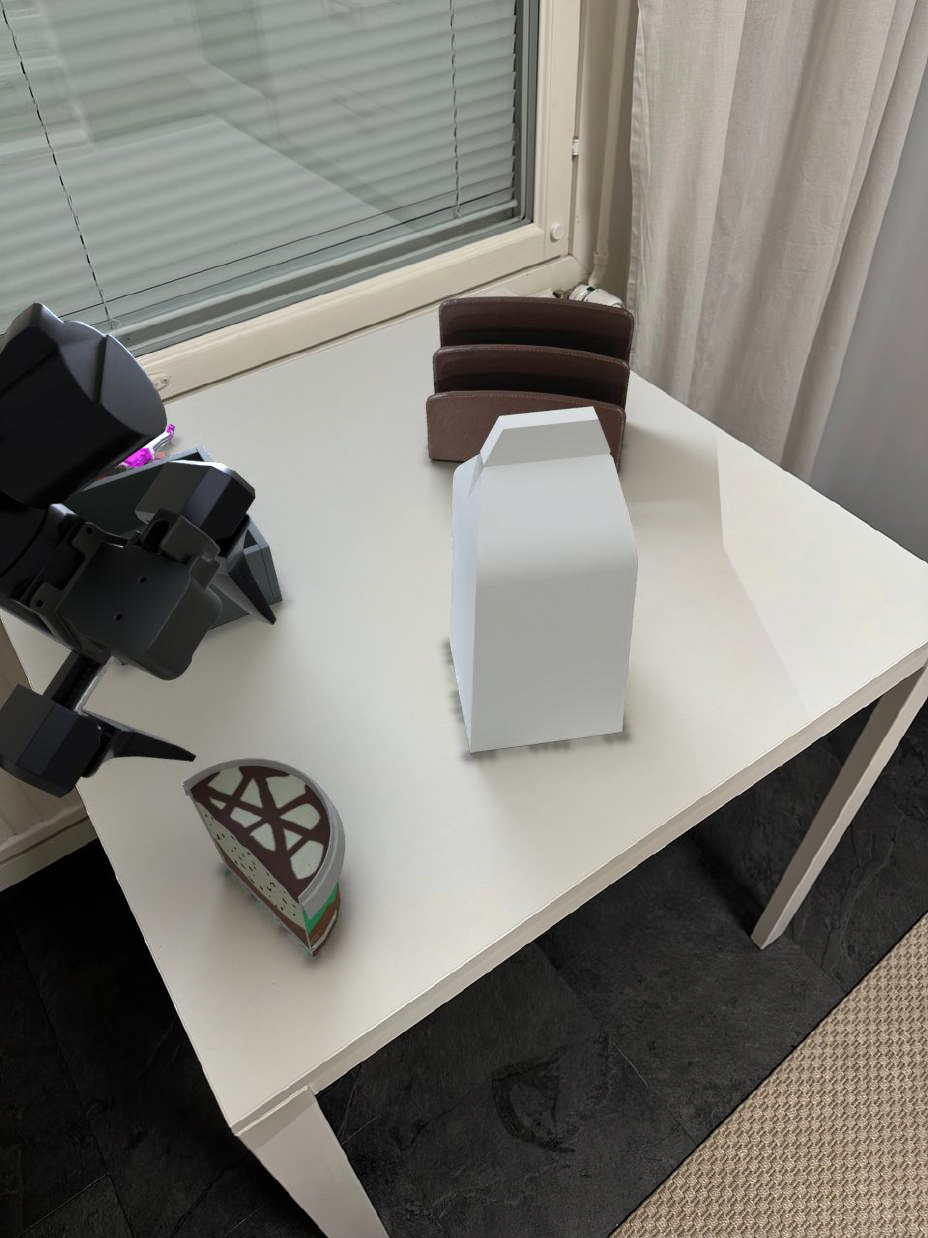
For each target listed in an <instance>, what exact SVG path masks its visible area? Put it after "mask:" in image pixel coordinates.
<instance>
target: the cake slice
mask: <svg viewBox="0 0 928 1238" xmlns="http://www.w3.org/2000/svg"><path fill="white" fill-rule="evenodd" d="M182 784H183V785H182V786H183V790H184V793H185V795H186V796H187V797H188V796H189V798H190V800H191V802H192V804H193V806H194V808H195V809H196V811H197V814H198V815H199V817H200V819H201V822H202V823H203V825H204V827H205V829H206V831H207V833H208V835H209V836H210V838H211V840H212V843H213V844H214V846H215V848H216V850H217V852H218V854H219V856H220V858H221V860H222V862H223V863H224V865H225V867H226V869H228V871H229V872H231V874H232V875H233V876H234V877H235V878H236V879H237V880H238V881H239V882H240V883H241V884H242V885H243V886H244V887H245V888H246V889H247V890H248V891H249V892H250V894H252V895H253V896H254V898H256V899H257V901H258V902H259V903H260V904H261V905H262V906H263V907H264V908H265V909H266V910H267V911H268V912H269V913H270V914H271V916H273V917H274V918H275V919H276V920H277V921H278V923H279V924H281V925H282V927H283V928H285V930H287V932H288V933H289V934H290V935H291V936H292V937H293V938H294V939H295V940H296V941H297V942H298V943H299V944H300V946H302V947H303V948H304V950H306V952H307V953H308V954H309V955H311V956H312V957H314V956H315V955H316V954H317V953H318V952H319V951H320V950H321V948H323V946H325V944H326V943H327V941H328V939H329V937H330V935H331V933H332V931H333V929H334V927H335V926H336V923H337V921H338V914H339V908H340V904H341V895H340V885H339V882H340V881H339V878H340V876H341V872H342V869H343V867H344V862H345V856H346V855H345V854H346V833H345V829H344V825H343V820H342V819H341V815H340V814H339V810H338V808H337V807H336V806H335V804H334V803H333V801H332V799H331V798H330V797H329V795H328V794H327V792H326V791H325V790H324V789H323V788H322V787H321V786H320V784H319V783H318V782H317V781H316V780H314V778H312V777H310V776H309V775H308V774H307V773H305V772H303V771H301V770H300V769H298V768H297V767H294V766H292V765H290V764H289V763H284V762H281V761H279V760H274V759H269V758H260V757H259V758H258V757H257V758H255V757H254V758H253V757H248V758H247V757H246V758H238V759H231V760H227V761H222V762H220V763H217V764H214V765H211V766H209V767H206V768H205V769H202V770H200V771H198V772H196V773H194V774H193V775H190V777H188V778H187V779H186V780H184V781H182Z"/></svg>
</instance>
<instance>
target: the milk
mask: <svg viewBox="0 0 928 1238" xmlns="http://www.w3.org/2000/svg"><path fill="white" fill-rule="evenodd" d="M480 453H481V454H478V455H476V456H475V457H473V458H471V459H470V460H468V461H466V462H462V463H461V464H459V465H458V466H457V467H456V469H455V470H454V473H453V478H452V501H451V503H452V506H451V548H450V550H451V551H450V552H451V554H450V599H449V601H450V602H449V603H450V605H449V645H450V652H451V658H452V663H453V668H454V674H455V678H456V683H457V688H458V694H459V700H460V706H461V709H462V711H461V712H462V717H463V721H464V726H465V731H466V732H465V733H466V737H467V743H468V748H469V753H470V754H472V753H479V752H486V751H492V750H499V749H508V748H515V747H522V746H530V745H536V744H545V743H550V742H551V743H553V742H560V741H566V740H572V739H574V740H575V739H581V738H588V737H595V736H604V735H610V734H616V733H617V734H619V733H622V732H623V726H624V716H625V715H624V714H625V707H626V706H625V705H626V695H627V687H628V686H627V684H628V673H629V665H630V655H631V645H632V635H633V623H634V614H635V605H636V603H635V602H636V592H637V583H638V573H639V572H638V571H639V553H638V551H639V550H638V545H637V540H636V536H635V532H634V528H633V523H632V521H631V518H630V514H629V509H628V506H627V502H626V500H625V496H624V495H625V494H624V492H623V489H622V485H621V482H620V477H619V475H618V474H619V473H617V471H616V467H615V464H614V460H613V457H612V456H611V455H610V454H609V453H610V448H609V445H608V443H607V440H606V438H605V435H604V432H603V430H602V427H601V424H600V422H599V419H598V417H597V415H596V412H595V410H594V408H593V406H592V407H582V408H573V409H563V410H553V411H544V412H534V413H524V414H515V415H505V416H499V417H498V419H497V421H496V423H495V425H494V427H493V429H492V430H491V432H490V434H489V436H488V438H487V440H486V442H485V443H484V445H483V447H482V449H481V451H480Z"/></svg>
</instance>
